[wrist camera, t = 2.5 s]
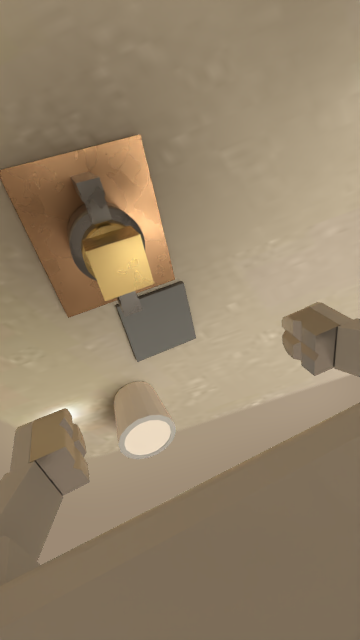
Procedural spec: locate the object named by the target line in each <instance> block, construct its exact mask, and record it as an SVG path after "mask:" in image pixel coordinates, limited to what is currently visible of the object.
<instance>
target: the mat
mask: <svg viewBox="0 0 360 640" xmlns="http://www.w3.org/2000/svg"><path fill="white" fill-rule="evenodd" d="M138 298H139V300H140V303H141V306H142V309H143V311H140V312H137V313H135V314H132V315H129V316H127V317H125V316H124V314H123V312H122V309H121V307H120V305H119V304H118V305H116V307H117V309H118V312H119V315H120V317H121V320H122V323H123V325H124V328H125V330H126V333H127V336H128V338H129V341H130V344H131V346H132V349H133V352H134V354H135V357H136V360H137V362H139V361H141V360H144V359H146V358H149V357H151V356H154V355H156V354H159V353H161V352H163V351H166V350H168V349H171V348H173V347H176V346H178V345H181V344H183V343H186V342H188V341H191V340H193V339H196V335H195V331H194V326H193V322H192V317H191V313H190V308H189V304H188V299H187V295H186V291H185V286H184V283H183V282H182V281H181V282H178V283H176V284H173V285H170V286H167V287H165V288H162V289H159V290H156V291H154V292H151V293H148V294H145V295H142V296H140V297H138Z"/></svg>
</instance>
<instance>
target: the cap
mask: <svg viewBox="0 0 360 640" xmlns="http://www.w3.org/2000/svg"><path fill="white" fill-rule="evenodd" d="M81 252H82V256H83V259H84V262H85V265H86V268H87V270H88V271H89V273H90V274H91V275H92V276H93V277H94V278H96V279H97V282H98V285H99V287H100V290H101V292H102V295H103V297H104V300H105V301H108V300H110V299H113V298H116V297H119V296H122V295H124V294H127V293H130V292H133V291H136V290H138V289H141V288H144V287H147V286H150V285H152V284H154V281H153V278H152V274H151V271H150V267H149V264H148V260H147V257H146V253H145V250H144V246H143V243H142V239H141V236H140V234H139V233H138V232H137V231H136V230H135V229H134V228H133V227H132V226H125V225H124V224H122V223H120V222H118V221H115V220H108V221H105V222H102V223H98V224H95V225H91V226H90V227H89V228H88V229H87V230H86V231H85V233H84V235H83V237H82V240H81Z"/></svg>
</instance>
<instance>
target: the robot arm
mask: <svg viewBox="0 0 360 640" xmlns="http://www.w3.org/2000/svg"><path fill="white" fill-rule="evenodd" d="M282 327H283V328H284V329H285V332H284V334H283V336H282V341H283V345H284V348H285V350H286V351H287V353H288V354H289V355H290V356H291V357H292V358H293V359H297V360H301V364H302V366H303V367H304V368H305V369H307V370H308V371H309V372H310V373H311V374H313V375H314V376H316V375H318V374H320V373H322V372H325V371H327V370H329V369H332V368H334V367H335V369H338V370H341V371H344V372H347V373H350V374H352V375H355V376H359V377H360V319H354V320H353V319H351V318H349V317H347V316H345V315H343V314H341V313H340V312H338V311H336V310H334V309H332V308H330V307H328V306H327V305H325V304H323V303H320V302H317V303H314V304H312V305H310V306H308V307H306V308H304V309H301V310H299V311H297V312H294V313H292V314H290V315H287V316H285V317H283V319H282ZM85 454H86V446H85V442H84V438H83V435H82V433H81V431H80V429H79V427H78V425H76V424H73V423H72V416H71V414H70V412H69V411H68V409H62V410H59V411H57V412H54V413H52V414H49V415H47V416H44V417H42V418H39V419H37V420H34V421H32V422H30V423H27V424H25V425H22V426H20V427H18V428H17V429H16V431H15V437H14V445H13V452H12V460H11V467H10V472H9V473H7V474H5V475H4V476H3V478H2V479H1V480H0V640H360V403H358V404H356V405H354V406H352V407H350V408H348V409H346V410H344V411H342V412H340V413H338V414H336V415H334V416H333V417H330V418H328V419H326V420H324V421H322V422H320V423H319V424H317V425H315V426H313V427H311V428H309V429H307V430H305V431H303V432H301V433H299V434H297V435H295V436H293V437H291V438H289V439H287V440H285V441H283V442H281V443H279V444H277V445H275V446H274V447H272V448H270V449H268V450H266V451H264V452H262V453H260V454H258V455H256V456H254V457H252V458H250V459H248V460H246V461H244V462H242V463H240V464H238V465H236V466H234V467H232V468H230V469H228V470H226V471H224V472H222V473H221V474H219V475H217V476H215V477H213V478H211V479H209V480H207V481H205V482H203V483H201V484H199V485H197V486H195V487H193V488H191V489H189V490H187V491H185V492H183V493H181V494H179V495H177V496H175V497H174V498H172V499H169V500H168V501H166V502H164V503H162V504H160V505H158V506H156V507H154V508H152V509H150V510H148V511H146V512H144V513H142V514H140V515H138V516H136V517H134V518H132V519H130V520H128V521H126V522H124V523H122V524H120V525H119V526H117V527H115V528H113V529H111V530H109V531H107V532H105V533H103V534H101V535H99V536H97V537H95V538H93V539H91V540H89V541H87V542H85V543H83V544H81V545H79V546H77V547H75V548H74V549H71V550H70V551H68V552H66V553H64V554H62V555H60V556H58V557H56V558H54V559H52V560H50V561H48V562H46V563H44V564H42V565H40V564H39V563H38V562H37V560H38V558H39V555H40V553H41V551H42V548H43V546H44V543H45V541H46V538H47V535H48V533H49V531H50V529H51V526H52V523H53V521H54V519H55V516H56V514H57V511H58V509H59V507H60V504H61V502H62V499H63V495H65V494H67V493H69V492H71V491H73V490H75V489H77V488H79V487H81V486H83V485H85V484H87V483H89V471H88V464H87V462H86V460H85V459H84V456H85Z"/></svg>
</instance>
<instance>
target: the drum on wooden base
mask: <svg viewBox="0 0 360 640" xmlns="http://www.w3.org/2000/svg"><path fill="white" fill-rule="evenodd" d="M0 179H1V181H2V183H3V185H4V187H5V189H6V191H7V193H8V195H9V197H10V199H11V201H12V203H13V205H14V207H15V210H16V212H17V214H18V216H19V218H20V220H21V222H22V224H23V226H24V228H25V230H26V232H27V234H28V236H29V238H30V240H31V242H32V244H33V246H34V248H35V251H36V253H37V255H38V257H39V259H40V261H41V263H42V265H43V267H44V269H45V271H46V273H47V275H48V277H49V279H50V281H51V283H52V285H53V287H54V289H55V292H56V294H57V296H58V298H59V300H60V302H61V304H62V306H63V308H64V310H65V312H66V314H67V316H68V318H69V317H71V316H74V315H77V314H80V313H83V312H85V311H88V310H91V309H94V308H96V307H99V306H102V305H105V304H108V303H110V302H113V301H116V300H118V303H119V305H120V307H121V309H122V312H123V314H124V316H125V317H127V316H129V315H132V314H135V313H137V312H140V311H143V309H142V306H141V303H140V300H139V298H138V296H137V294H136V293H138V292H141V291H144V290H147V289H149V288H152V287H155V286H158V285H161V284H163V283H166V282H169V281H172V280H175V277H174V273H173V269H172V265H171V260H170V256H169V252H168V248H167V244H166V240H165V235H164V231H163V227H162V223H161V219H160V215H159V211H158V206H157V202H156V198H155V194H154V190H153V186H152V181H151V177H150V173H149V169H148V165H147V161H146V157H145V152H144V148H143V144H142V140H141V136H140V135H136V136H132V137H128V138H124V139H120V140H116V141H112V142H108V143H104V144H100V145H96V146H92V147H88V148H85V149H81V150H77V151H73V152H69V153H65V154H61V155H57V156H53V157H49V158H45V159H41V160H37V161H33V162H29V163H25V164H21V165H17V166H13V167H9V168H6V169H2V170H0ZM108 220H115V221H118V222H120V223H122V224H124V225H125V226H132V227H133V228H134V229H135V230H136V231H137V232H138V233H139V234H140V236H141V239H142V243H143V246H144V250H145V253H146V257H147V260H148V264H149V267H150V271H151V274H152V278H153V281H154V284H152V285H150V286H147V287H144V288H141V289H138V290H136V291H133V292H130V293H127V294H124V295H122V296H119V297H116V298H113V299H110V300H108V301H105V300H104V297H103V295H102V292H101V290H100V287H99V285H98V282H97V279H96V278H94V277H93V276H92V275H91V274H90V273H89V271H88V270H87V268H86V265H85V262H84V259H83V256H82V252H81V240H82V237H83V235H84V233H85V231H86V230H87V229H88V228H89V227H90V226H91V225H95V224H98V223H102V222H105V221H108Z"/></svg>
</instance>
